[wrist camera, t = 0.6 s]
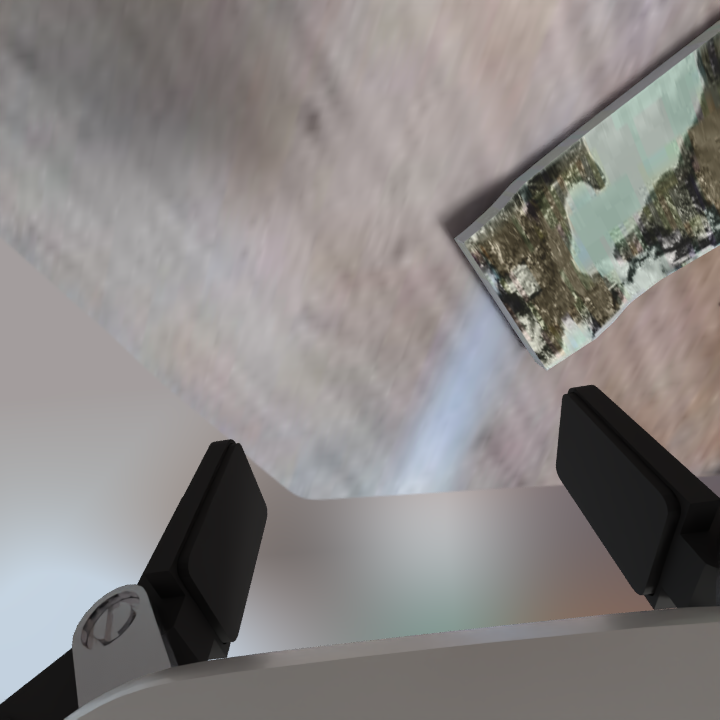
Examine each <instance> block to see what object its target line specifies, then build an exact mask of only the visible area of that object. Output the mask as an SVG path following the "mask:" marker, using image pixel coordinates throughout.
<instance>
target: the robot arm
mask: <svg viewBox="0 0 720 720" xmlns="http://www.w3.org/2000/svg"><path fill="white" fill-rule="evenodd" d="M556 470H557V474H558V476H559V478H560V480H561V481H562V483H563V484H564V486H565V487H566V489H567V490H568V492H569V493H570V495H571V496H572V498H573V499H574V501H575V502H576V504H577V505H578V507H579V508H580V510H581V511H582V513H583V514H584V516H585V517H586V519H587V520H588V522H589V523H590V525H591V526H592V528H593V529H594V531H595V532H596V534H597V535H598V537H599V538H600V540H601V542H602V543H603V545H604V546H605V548H606V549H607V551H608V552H609V554H610V555H611V557H612V558H613V559H614V561H615V563H616V564H617V566H618V567H619V569H620V570H621V572H622V573H623V575H624V576H625V578H626V579H627V581H628V582H629V584H630V585H631V587H632V588H633V589H634V591H635V592H636V593H637V594H639V595H644V596H645V597H646V599H647V600H648V602H649V603H650V605H651V606H652V607H653V609H654V610H652V611H641V612H629V613H619V614H608V615H598V616H589V617H579V618H570V619H561V620H551V621H541V622H532V623H523V624H513V625H504V626H495V627H487V628H477V629H468V630H459V631H450V632H442V633H441V632H440V633H432V634H423V635H414V636H405V637H396V638H387V639H378V640H370V641H361V642H353V643H344V644H335V645H327V646H318V647H310V648H301V649H293V650H284V651H276V652H268V653H260V654H253V655H246V656H238V657H231V658H227V655H228V651H229V647H230V642H234V641H235V640H236V638H237V636H238V633H239V629H240V625H241V621H242V617H243V613H244V609H245V605H246V601H247V596H248V593H249V588H250V585H251V581H252V576H253V572H254V568H255V564H256V560H257V556H258V552H259V548H260V544H261V540H262V536H263V532H264V528H265V524H266V519H267V507H266V504H265V501H264V499H263V496H262V494H261V492H260V489H259V487H258V485H257V482H256V479H255V477H254V475H253V472H252V470H251V467H250V465H249V463H248V460H247V458H246V455H245V453H244V450H243V448H242V446H241V444H240V443H235V441H234V440H232V439H230V440H223V441H216V442H213V443H211V444H210V446H209V448H208V450H207V452H206V454H205V455H204V457H203V459H202V461H201V463H200V465H199V467H198V469H197V471H196V473H195V475H194V477H193V479H192V481H191V483H190V485H189V487H188V489H187V490H186V492H185V494H184V496H183V497H182V499H181V501H180V503H179V505H178V507H177V508H176V511H175V512H174V514H173V516H172V518H171V520H170V522H169V524H168V526H167V528H166V530H165V532H164V534H163V536H162V538H161V540H160V541H159V543H158V545H157V547H156V549H155V551H154V553H153V555H152V557H151V559H150V561H149V563H148V564H147V566H146V568H145V570H144V572H143V574H142V576H141V578H140V580H139V582H138V584H137V585H136V584H134V585H125V586H122V587H119V588H117V589H115V590H113V591H111V592H109V593H107V594H106V595H104V596H103V597H102V598H101V599H99V600H98V601H97V602H96V603H95V604H94V605H93V606H92V607H91V608H90V609H89V610H88V611H87V612H86V613H85V615H84V616H83V618H82V619H81V621H80V622H79V624H78V625H77V628H76V630H75V633H74V635H73V641H72V648H71V649H70V650H69V651H68V652H66V653H65V654H64V655H63V656H61V657H60V658H59V659H57V660H56V661H55V662H54V663H52V664H51V665H50V666H49V667H47V668H46V669H45V670H43V671H42V672H41V673H40V674H38V675H37V676H36V677H35V678H33V679H32V680H31V681H29V682H28V683H27V684H25V685H24V686H23V687H22V688H20V689H19V690H18V691H17V692H15V693H14V694H13V695H12V696H10V697H9V698H8V699H6V700H5V701H4V702H3V703H1V704H0V720H720V498H719V497H718V496H717V495H716V494H714V493H713V492H712V491H711V490H710V489H709V488H708V487H707V486H706V485H705V484H703V483H702V482H701V481H700V480H699V479H698V478H697V477H696V476H695V475H694V474H692V473H691V472H690V471H689V470H688V469H687V468H686V467H685V466H684V465H683V464H681V463H680V462H679V461H678V460H677V459H676V458H675V457H674V456H673V455H671V454H670V453H669V452H668V451H667V450H666V449H665V448H664V447H663V446H661V445H660V444H659V443H658V442H657V441H656V440H655V439H654V438H653V437H652V436H650V435H649V434H648V433H647V432H646V431H645V430H644V429H643V428H642V427H640V426H639V425H638V424H637V423H636V422H635V421H634V420H633V419H632V418H630V417H629V416H628V415H627V414H626V413H625V412H624V411H623V410H622V409H621V408H619V407H618V406H617V405H616V404H615V403H614V402H613V401H612V400H611V399H609V398H608V397H607V396H606V395H605V394H604V393H603V392H602V391H601V390H599V389H598V388H597V387H596V386H594V385H587V386H581V387H574V388H570V389H569V391H568V394H564V395H563V398H562V406H561V417H560V427H559V438H558V449H557V459H556ZM676 607H677V608H676ZM666 608H676V609H666ZM658 609H663V610H658ZM219 658H224V659H219ZM210 659H216V660H210ZM208 660H209V661H208Z"/></svg>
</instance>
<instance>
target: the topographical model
mask: <svg viewBox="0 0 720 720" xmlns="http://www.w3.org/2000/svg"><path fill="white" fill-rule="evenodd" d="M454 239H455V241H456V242H457V244H458V245H459V247H460V248H461V250H462V251H463V253H464V254H465V256H466V257H467V259H468V260H469V262H470V264H471V265H472V267H473V268H474V270H475V271H476V273H477V274H478V276H479V277H480V279H481V280H482V282H483V283H484V285H485V286H486V288H487V289H488V291H489V293H490V294H491V296H492V297H493V299H494V300H495V302H496V303H497V305H498V306H499V308H500V309H501V311H502V312H503V314H504V315H505V317H506V318H507V320H508V321H509V323H510V325H511V326H512V328H513V329H514V331H515V332H516V334H517V335H518V337H519V338H520V340H521V341H522V343H523V344H524V346H525V347H526V349H527V350H528V352H529V353H530V355H531V356H532V357H533V359H534V360H535V362H536V363H537V364H539V365H540V366H541V367H543V368H544V369H545V370H548V369H550V368H551V367H553V366H554V365H556V364H558V363H559V362H561V361H562V360H564V359H565V358H567V357H568V356H570V355H571V354H573V353H574V352H576V351H577V350H579V349H580V348H582V347H584V346H585V345H587V344H588V343H590V342H591V341H593V340H594V339H596V338H597V337H598V336H599V335H600V334H601V333H602V332H603V331H604V330H605V329H606V328H607V327H609V326H610V325H611V324H612V323H613V322H614V321H615V320H616V319H617V317H618V316H619V315H620V314H621V313H622V311H623V310H624V309H625V308H626V307H627V306H628V305H629V304H630V303H631V302H632V301H633V300H634V299H636V298H637V297H638V296H640V295H641V294H642V293H644V292H645V291H646V290H648V289H649V288H650V287H652V286H653V285H654V284H655V283H657V282H658V281H660V280H661V279H663V278H665V277H666V276H668V275H670V274H671V273H673V272H675V271H676V270H678V269H680V268H681V267H683V266H685V265H686V264H688V263H690V262H691V261H693V260H695V259H697V258H698V257H700V256H702V255H704V254H705V253H707V252H709V251H710V250H712V249H714V248H716V247H717V246H719V245H720V20H719V21H718V22H716V23H715V24H714V25H712V26H711V27H710V28H708V29H707V30H706V31H705V32H703V33H702V34H701V35H699V36H698V37H697V38H695V39H694V40H693V41H692V42H690V43H689V44H688V45H686V46H685V47H684V48H682V49H681V50H680V51H678V52H677V53H676V54H674V55H673V56H672V57H671V58H669V59H668V60H667V61H665V62H664V63H663V64H661V65H660V66H659V67H658V68H656V69H655V70H654V71H652V72H651V73H650V74H649V75H647V76H646V77H645V78H643V79H642V80H641V81H639V82H638V83H637V84H636V85H634V86H633V87H632V88H630V89H629V90H628V91H627V92H625V93H624V94H623V95H621V96H620V97H619V98H617V99H616V100H615V101H614V102H612V103H611V104H610V105H608V106H607V107H606V108H605V109H603V110H602V111H601V112H599V113H598V114H597V115H596V116H594V117H593V118H592V119H590V120H589V121H588V122H587V123H585V124H584V125H583V126H582V127H580V128H579V129H578V130H576V131H575V132H574V133H573V134H571V135H570V136H569V137H568V138H566V139H565V140H564V141H563V142H561V143H560V144H559V145H558V146H556V147H555V148H554V149H553V150H551V151H550V152H549V153H548V154H547V155H545V156H544V157H543V158H542V159H540V160H539V161H538V162H537V163H535V164H534V165H533V166H532V167H531V168H529V169H528V170H527V171H526V172H524V173H523V174H522V175H521V176H519V177H518V178H517V179H516V180H515V181H513V182H512V183H511V184H510V185H509V186H508V188H507V189H506V190H505V191H504V192H503V193H502V194H501V196H500V197H499V198H498V199H497V200H496V201H495V202H494V203H493V205H492V206H491V207H490V208H489V209H488V210H487V211H486V212H484V213H483V214H482V215H481V216H480V217H479V218H478V219H477V220H476V221H474V222H473V223H472V224H471V225H470V226H469V227H468V228H467V229H465V230H464V231H463V232H462V233H460V234H459V235H458V236H457V237H455V238H454Z"/></svg>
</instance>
